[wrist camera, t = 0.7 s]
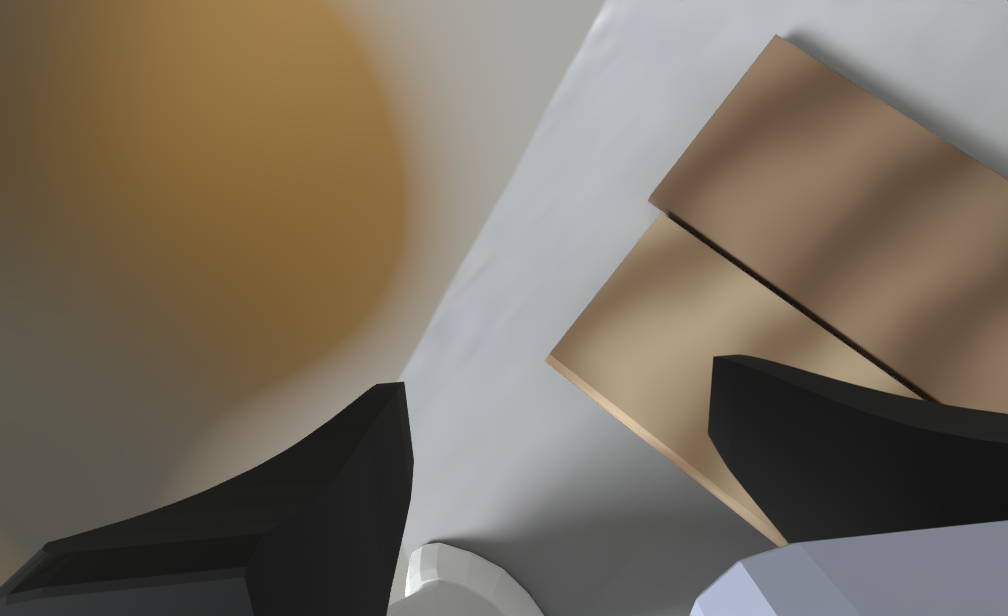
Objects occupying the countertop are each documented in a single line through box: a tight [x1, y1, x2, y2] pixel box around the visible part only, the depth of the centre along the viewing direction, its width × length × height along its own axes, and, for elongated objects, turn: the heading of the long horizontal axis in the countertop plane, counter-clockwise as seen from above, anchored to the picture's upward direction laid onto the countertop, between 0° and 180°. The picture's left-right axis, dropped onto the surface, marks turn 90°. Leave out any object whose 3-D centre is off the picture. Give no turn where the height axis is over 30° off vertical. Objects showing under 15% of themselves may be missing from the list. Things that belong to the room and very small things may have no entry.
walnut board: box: [648, 34, 1008, 414], centre depth 26 cm, size 20×10×2 cm, turn 53°
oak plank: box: [545, 213, 924, 547], centre depth 25 cm, size 18×10×2 cm, turn 53°
